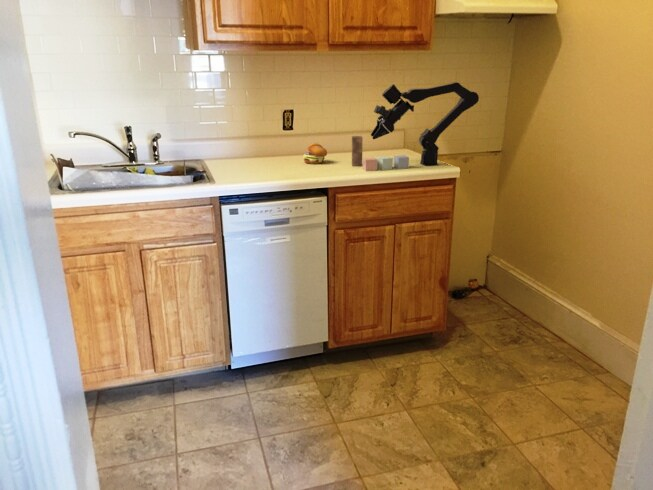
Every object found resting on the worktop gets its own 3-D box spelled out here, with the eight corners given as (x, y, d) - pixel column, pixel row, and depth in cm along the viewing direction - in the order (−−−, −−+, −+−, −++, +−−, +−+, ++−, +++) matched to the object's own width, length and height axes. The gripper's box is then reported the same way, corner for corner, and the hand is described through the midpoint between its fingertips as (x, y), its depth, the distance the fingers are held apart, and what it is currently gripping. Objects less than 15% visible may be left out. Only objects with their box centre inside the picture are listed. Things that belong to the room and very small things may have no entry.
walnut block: (361, 164, 252) (361, 135, 248) (362, 166, 248) (362, 137, 244) (351, 164, 252) (351, 136, 248) (352, 166, 248) (352, 137, 244)
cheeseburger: (309, 159, 265) (313, 139, 261) (328, 166, 261) (332, 146, 256) (298, 162, 257) (302, 142, 252) (317, 170, 252) (321, 149, 248)
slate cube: (403, 166, 248) (404, 155, 246) (408, 168, 243) (408, 157, 242) (393, 166, 247) (393, 155, 245) (398, 169, 242) (398, 157, 240)
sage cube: (386, 167, 246) (386, 156, 244) (392, 169, 242) (392, 157, 240) (376, 168, 244) (376, 157, 242) (382, 170, 240) (382, 159, 238)
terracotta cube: (373, 168, 244) (373, 157, 242) (376, 170, 239) (376, 159, 237) (362, 169, 243) (362, 157, 241) (365, 171, 238) (365, 159, 236)
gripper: (382, 97, 250) (358, 121, 253) (387, 100, 232) (361, 127, 235) (399, 114, 252) (374, 138, 256) (405, 119, 235) (378, 145, 238)
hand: (372, 137), depth 246 cm, fingers open, 9 cm apart
